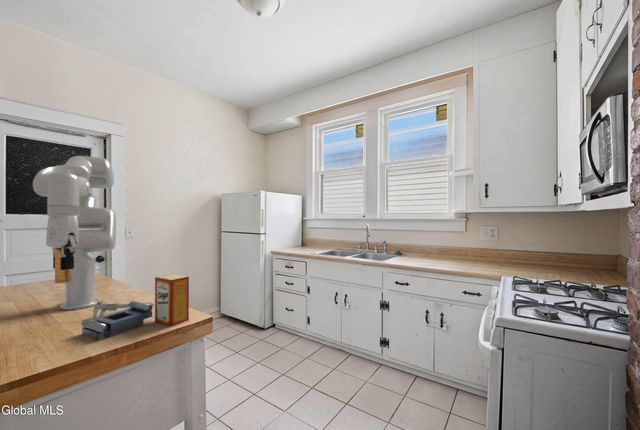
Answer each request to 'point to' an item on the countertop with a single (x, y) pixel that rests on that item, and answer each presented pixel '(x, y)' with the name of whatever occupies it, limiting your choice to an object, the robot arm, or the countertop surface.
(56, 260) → the gold tall block
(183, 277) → the baking soda box
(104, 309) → the caliper
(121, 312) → the grey bench vise
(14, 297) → the countertop surface
